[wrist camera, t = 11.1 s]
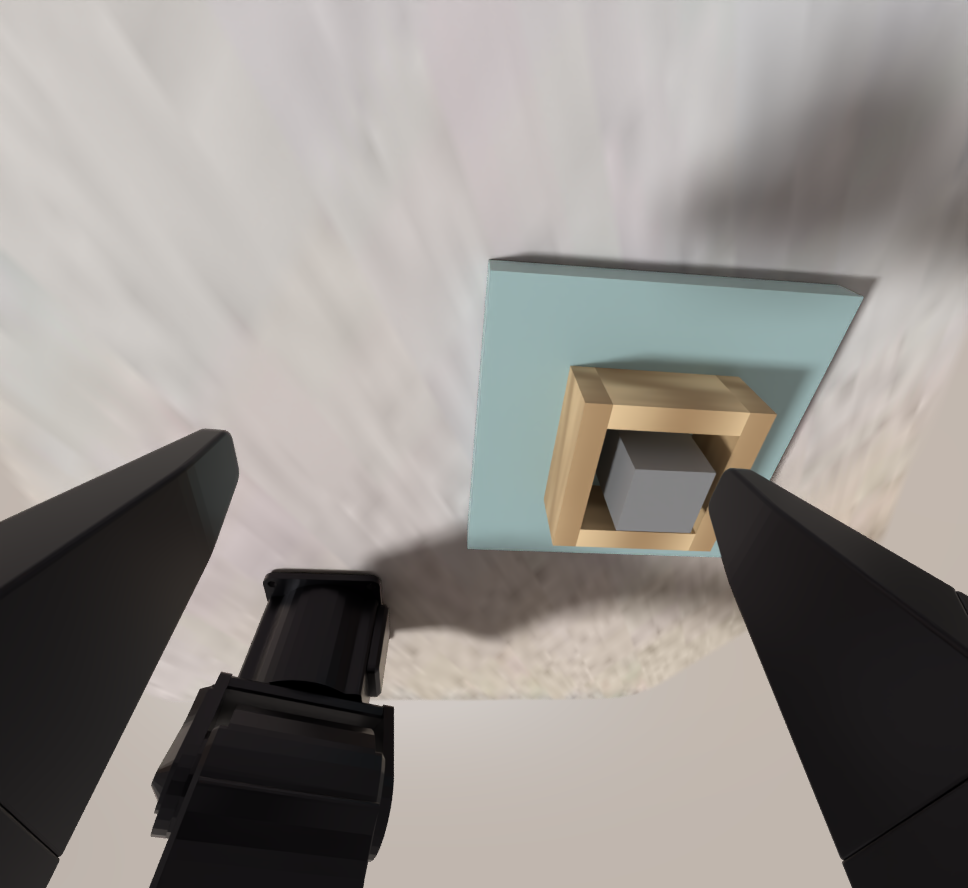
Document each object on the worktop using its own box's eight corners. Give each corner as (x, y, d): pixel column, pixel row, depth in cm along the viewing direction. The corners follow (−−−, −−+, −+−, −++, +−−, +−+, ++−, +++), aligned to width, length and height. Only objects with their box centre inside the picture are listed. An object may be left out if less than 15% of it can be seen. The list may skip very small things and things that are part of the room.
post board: (467, 528, 26) (467, 615, 22) (488, 259, 19) (495, 308, 14) (717, 537, 27) (767, 622, 23) (838, 285, 20) (951, 338, 15)
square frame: (543, 499, 23) (552, 545, 21) (570, 365, 20) (585, 402, 17) (685, 505, 24) (710, 551, 21) (738, 376, 20) (777, 414, 18)
